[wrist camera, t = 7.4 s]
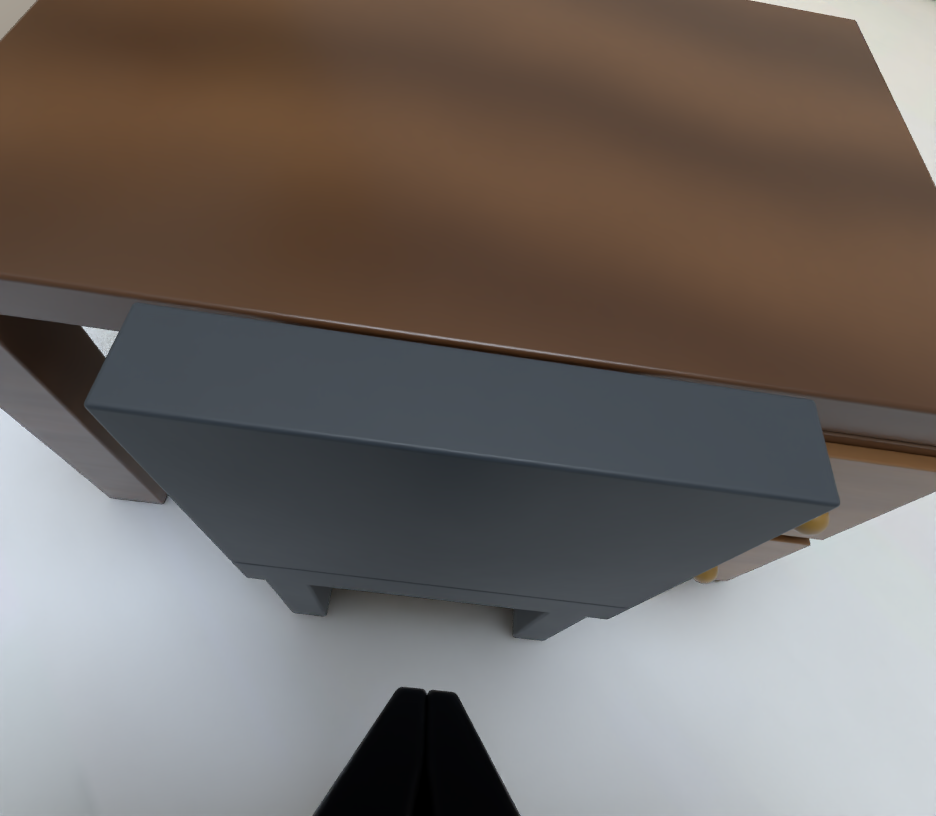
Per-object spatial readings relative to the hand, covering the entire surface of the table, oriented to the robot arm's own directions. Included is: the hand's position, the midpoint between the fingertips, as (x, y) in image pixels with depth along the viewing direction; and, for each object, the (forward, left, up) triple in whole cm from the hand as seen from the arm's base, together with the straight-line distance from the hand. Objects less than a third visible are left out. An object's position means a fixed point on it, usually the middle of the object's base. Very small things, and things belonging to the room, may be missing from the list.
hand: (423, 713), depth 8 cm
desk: (+10, +3, -7) cm, 13 cm away
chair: (+5, +1, -7) cm, 9 cm away
